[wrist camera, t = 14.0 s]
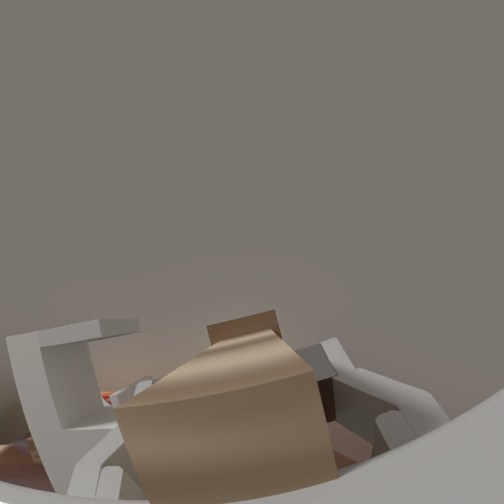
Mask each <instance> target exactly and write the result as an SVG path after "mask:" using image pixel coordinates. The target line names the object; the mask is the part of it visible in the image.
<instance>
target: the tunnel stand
mask: <svg viewBox="0 0 504 504" xmlns="http://www.w3.org/2000/svg"><path fill="white" fill-rule="evenodd" d="M137 332H141V331H140V327H139V322H138V319H96V320H91V321H86V322H81V323H77V324H72V325H67V326H62V327H57V328H52V329H47V330H42V331H37V332H31V333H26V334H21V335H15V336H10V337H6V341H7V346H8V352H9V356H10V361H11V366H12V370H13V374H14V378H15V383H16V386H17V390H18V394H19V397H20V401H21V404H22V408H23V411H24V414H25V417H26V420H27V423H28V426H29V429H30V432H31V435H32V438H33V440H34V443H35V446H36V448H37V451H38V453H39V456H40V458H41V461H42V463H43V466H44V468H45V470H46V472H47V475H48V477H49V479H50V481H51V483H52V485H53V488H54V490H55V492H56V493H58V494H64V495H67V492H68V488H69V485H70V481H71V478H72V475H73V471H74V468H75V465H76V463H77V462H78V461H79V460H81V459H82V458H83V457H84V456H85V455H86V454H87V453H88V452H89V451H90V450H91V449H92V448H93V447H95V446H96V445H97V444H98V443H99V442H100V441H101V440H102V439H103V438H104V437H105V436H106V435H107V434H108V433H109V432H110V431H112V430H113V429H114V428H115V427H116V426H117V425H118V423H117V420H116V416H115V413H114V410H113V408H115V407H117V406H118V405H120V404H122V403H123V402H125V401H127V400H128V399H130V398H132V397H133V396H134V393H135V390H136V386H137V384H138V383H139V382H141V381H148V380H153V379H152V376H146V377H144V378H142V379H140V380H138V381H136V382H134V383H132V384H130V385H129V386H127V387H125V388H123V389H121V390H119V391H117V392H115V393H113V394H111V395H109V397H110V400H111V403H112V406H107V407H104V404H103V401H102V397H101V394H100V391H99V387H98V383H97V380H96V376H95V372H94V368H93V364H92V361H91V356H90V352H89V347H88V343H87V342H89V341H94V340H101V339H106V338H111V337H117V336H121V335H126V334H132V333H137Z"/></svg>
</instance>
